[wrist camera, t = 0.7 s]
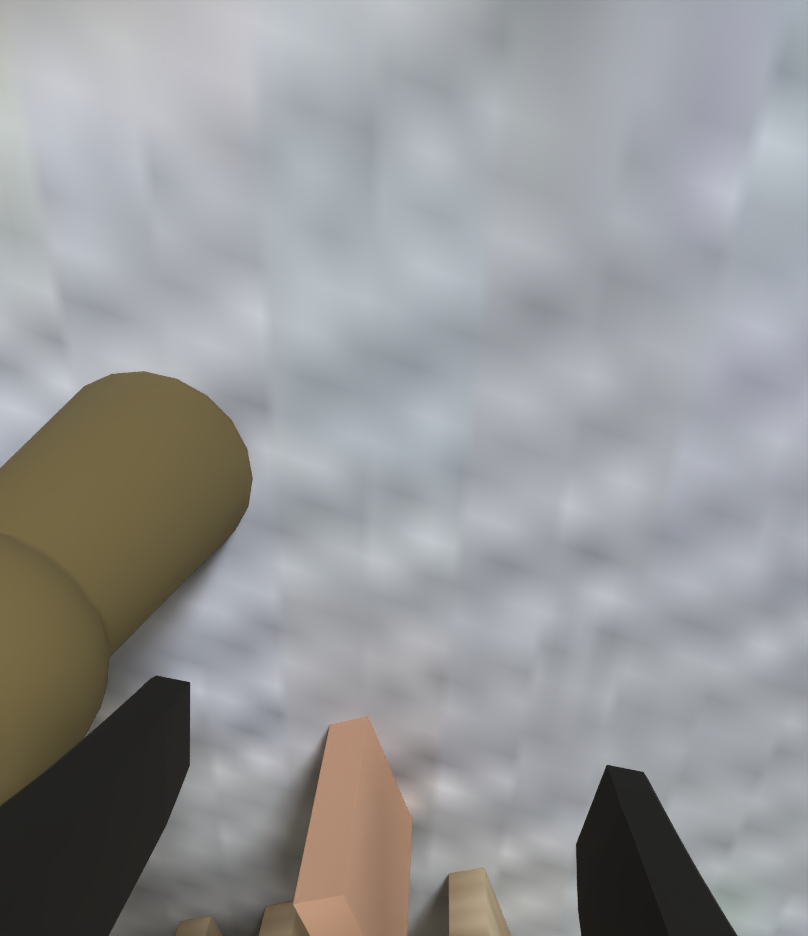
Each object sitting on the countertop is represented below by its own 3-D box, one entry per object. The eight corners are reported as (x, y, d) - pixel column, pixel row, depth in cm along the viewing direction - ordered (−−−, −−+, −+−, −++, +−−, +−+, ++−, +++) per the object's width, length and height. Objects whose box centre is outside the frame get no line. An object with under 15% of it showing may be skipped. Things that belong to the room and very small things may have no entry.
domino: (376, 827, 26) (356, 1021, 20) (330, 724, 24) (293, 904, 18) (412, 820, 26) (403, 1014, 20) (368, 716, 24) (343, 895, 18)
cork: (220, 585, 22) (34, 925, 12) (34, 518, 22) (-326, 816, 12) (278, 418, 20) (108, 664, 10) (73, 338, 19) (-333, 512, 9)
